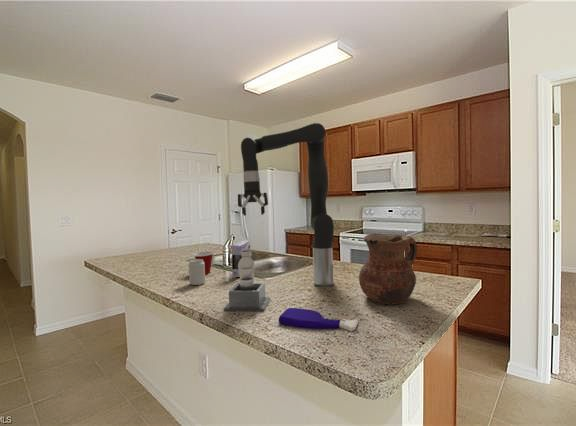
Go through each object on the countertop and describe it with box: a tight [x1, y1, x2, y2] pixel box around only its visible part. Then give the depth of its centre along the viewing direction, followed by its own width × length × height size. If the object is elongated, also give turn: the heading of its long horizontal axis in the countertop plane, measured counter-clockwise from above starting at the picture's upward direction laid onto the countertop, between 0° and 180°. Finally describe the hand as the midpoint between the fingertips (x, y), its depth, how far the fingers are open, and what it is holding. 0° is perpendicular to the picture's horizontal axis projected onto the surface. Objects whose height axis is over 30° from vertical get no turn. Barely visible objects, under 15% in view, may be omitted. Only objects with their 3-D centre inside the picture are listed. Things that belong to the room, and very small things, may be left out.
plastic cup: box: [193, 250, 214, 275], centre depth 171 cm, size 11×11×12 cm
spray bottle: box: [278, 307, 359, 332], centre depth 98 cm, size 3×11×24 cm
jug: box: [358, 233, 418, 305], centre depth 119 cm, size 22×21×25 cm
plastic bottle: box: [238, 249, 256, 291], centre depth 117 cm, size 6×7×20 cm
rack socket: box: [223, 282, 271, 312], centre depth 117 cm, size 15×13×7 cm
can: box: [188, 258, 206, 286], centre depth 149 cm, size 8×8×12 cm
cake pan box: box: [231, 240, 251, 277], centre depth 167 cm, size 19×5×18 cm, turn 168°
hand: (253, 215), depth 145 cm, fingers open, 8 cm apart
